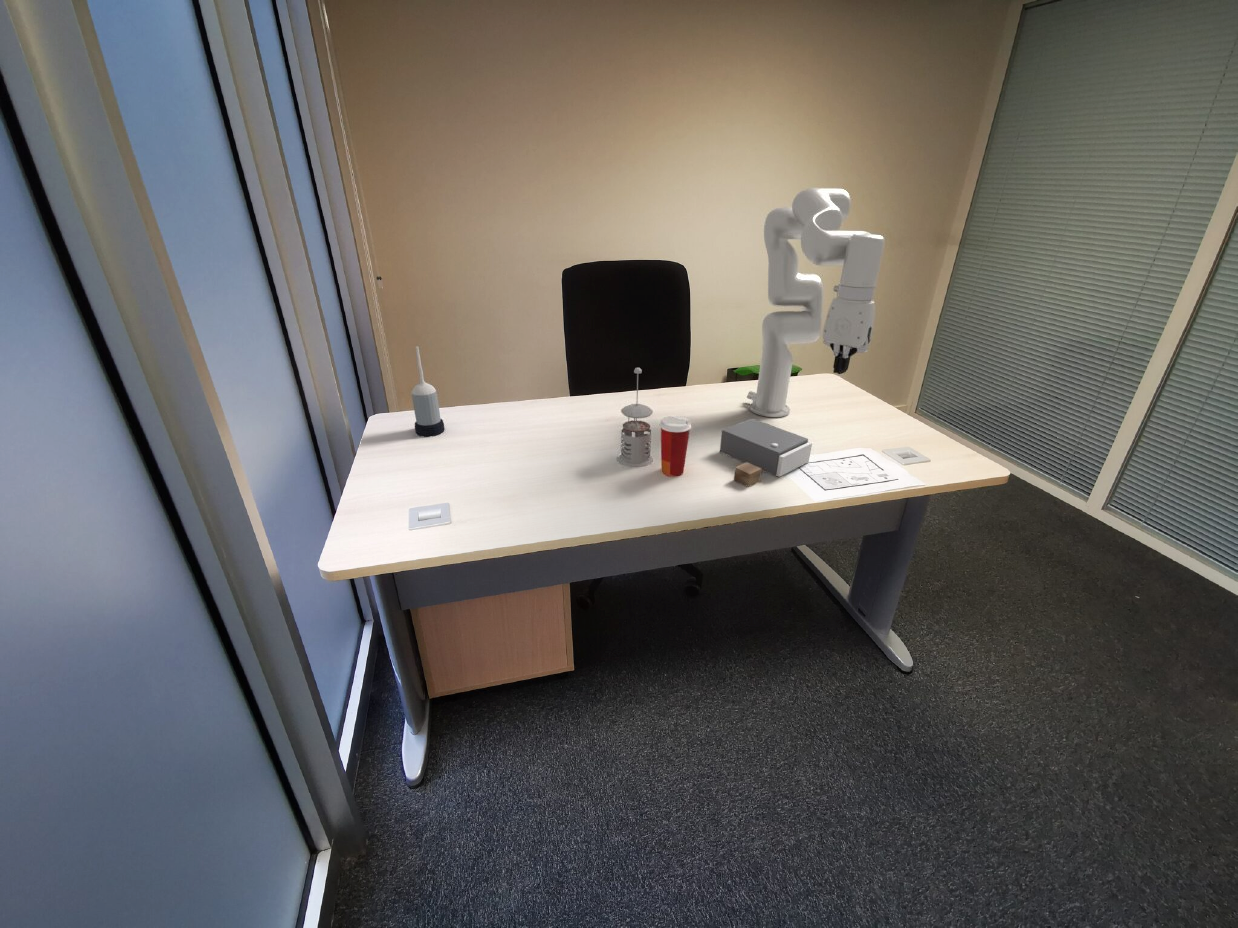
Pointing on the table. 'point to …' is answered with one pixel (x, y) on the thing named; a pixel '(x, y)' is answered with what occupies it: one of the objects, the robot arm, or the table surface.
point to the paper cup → (674, 444)
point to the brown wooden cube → (747, 474)
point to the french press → (636, 435)
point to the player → (758, 443)
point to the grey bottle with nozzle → (426, 407)
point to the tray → (793, 459)
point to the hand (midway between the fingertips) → (839, 372)
